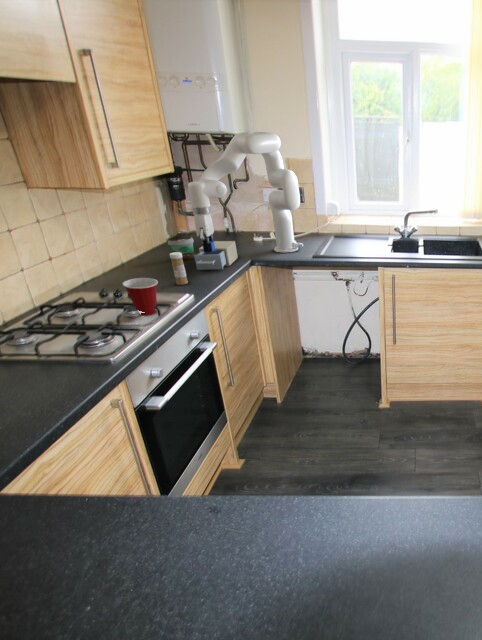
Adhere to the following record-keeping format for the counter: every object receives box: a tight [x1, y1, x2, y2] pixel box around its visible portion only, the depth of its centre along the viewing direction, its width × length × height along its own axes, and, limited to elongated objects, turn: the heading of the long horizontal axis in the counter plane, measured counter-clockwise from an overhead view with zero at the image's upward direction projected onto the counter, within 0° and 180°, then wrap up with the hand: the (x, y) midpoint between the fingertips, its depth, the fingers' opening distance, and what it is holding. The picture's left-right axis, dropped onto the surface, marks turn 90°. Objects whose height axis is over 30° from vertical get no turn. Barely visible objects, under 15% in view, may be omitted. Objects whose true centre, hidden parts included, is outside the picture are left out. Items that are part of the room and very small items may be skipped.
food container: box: [167, 236, 195, 261], centre depth 236 cm, size 12×6×10 cm, turn 143°
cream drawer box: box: [198, 240, 239, 267], centre depth 233 cm, size 15×13×9 cm
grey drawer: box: [194, 250, 227, 271], centre depth 223 cm, size 18×11×7 cm, turn 7°
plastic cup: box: [121, 277, 159, 316], centre depth 171 cm, size 11×11×12 cm
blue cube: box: [201, 240, 216, 252], centre depth 220 cm, size 4×4×4 cm
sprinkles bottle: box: [169, 252, 189, 286], centre depth 201 cm, size 5×5×13 cm
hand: (209, 250), depth 221 cm, fingers closed on blue cube, 3 cm apart
